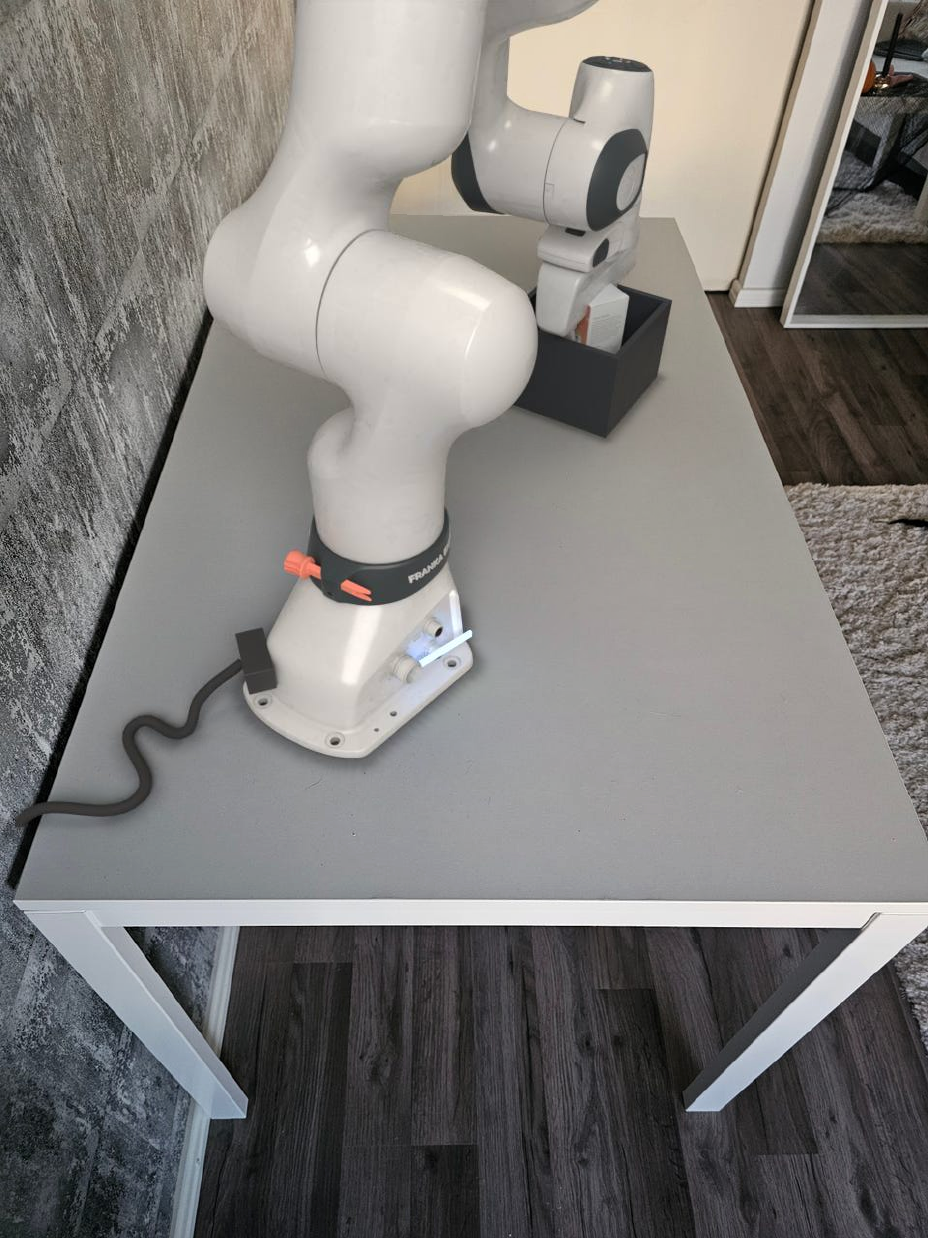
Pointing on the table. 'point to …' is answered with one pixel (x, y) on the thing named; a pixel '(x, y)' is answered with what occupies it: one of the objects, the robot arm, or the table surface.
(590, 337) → the small box
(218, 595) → the table surface
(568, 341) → the trash bin
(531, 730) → the table surface
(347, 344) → the robot arm
